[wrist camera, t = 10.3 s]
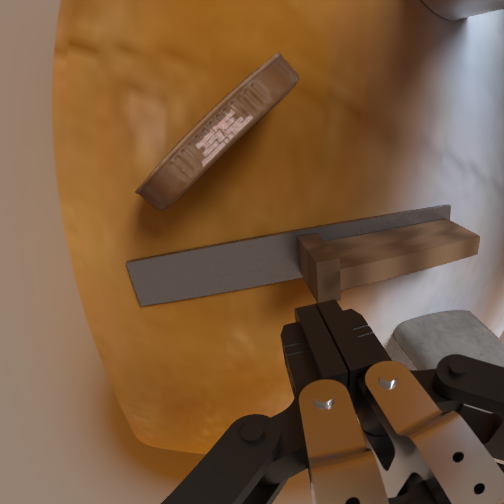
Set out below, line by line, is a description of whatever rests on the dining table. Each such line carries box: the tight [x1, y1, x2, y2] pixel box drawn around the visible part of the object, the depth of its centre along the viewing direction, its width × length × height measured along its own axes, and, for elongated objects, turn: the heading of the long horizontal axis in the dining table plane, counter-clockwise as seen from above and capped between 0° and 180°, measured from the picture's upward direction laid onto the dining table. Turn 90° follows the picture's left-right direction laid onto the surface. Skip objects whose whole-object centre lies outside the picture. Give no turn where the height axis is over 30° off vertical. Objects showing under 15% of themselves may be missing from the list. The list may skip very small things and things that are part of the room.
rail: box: [126, 205, 451, 306], centre depth 30 cm, size 36×5×1 cm, turn 99°
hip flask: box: [393, 310, 504, 413], centre depth 28 cm, size 16×4×20 cm, turn 88°
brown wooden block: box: [298, 219, 480, 303], centre depth 27 cm, size 18×4×6 cm, turn 99°
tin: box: [135, 52, 299, 210], centre depth 21 cm, size 15×3×8 cm, turn 134°
